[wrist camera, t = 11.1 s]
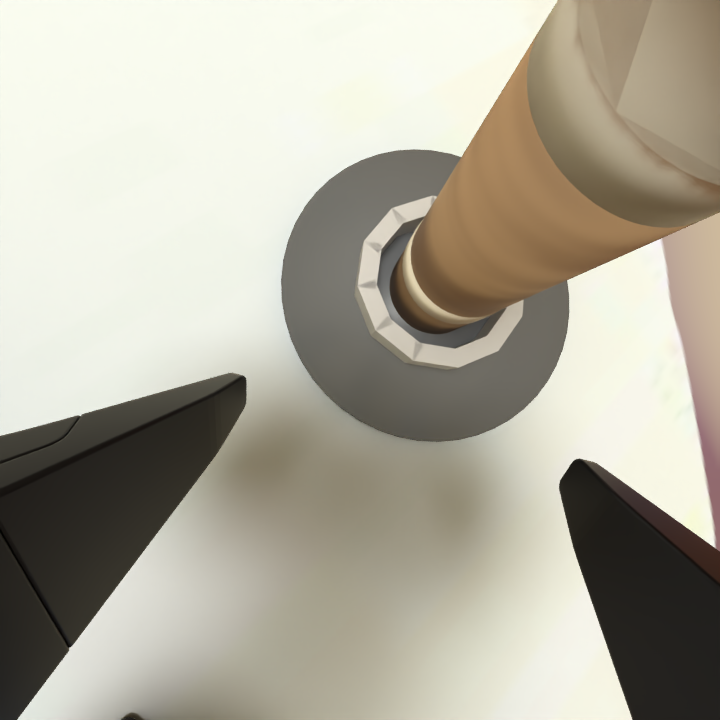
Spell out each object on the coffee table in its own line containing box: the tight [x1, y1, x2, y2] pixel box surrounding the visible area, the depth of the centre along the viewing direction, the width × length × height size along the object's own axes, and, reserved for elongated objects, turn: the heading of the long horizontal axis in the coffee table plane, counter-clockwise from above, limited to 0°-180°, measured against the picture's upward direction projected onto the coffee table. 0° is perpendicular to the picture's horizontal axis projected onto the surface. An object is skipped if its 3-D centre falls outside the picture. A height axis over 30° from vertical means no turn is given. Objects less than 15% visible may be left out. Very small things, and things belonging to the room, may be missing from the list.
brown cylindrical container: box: [389, 0, 720, 334], centre depth 12 cm, size 6×6×13 cm
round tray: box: [281, 150, 569, 442], centre depth 18 cm, size 18×18×2 cm
